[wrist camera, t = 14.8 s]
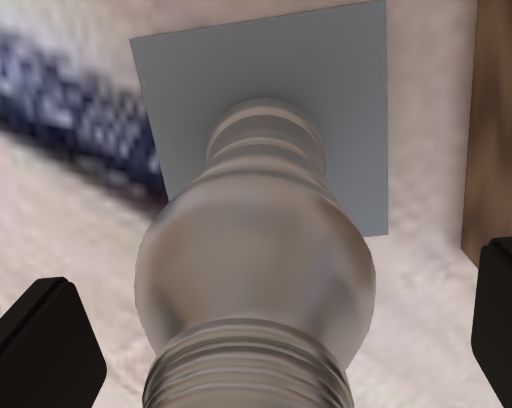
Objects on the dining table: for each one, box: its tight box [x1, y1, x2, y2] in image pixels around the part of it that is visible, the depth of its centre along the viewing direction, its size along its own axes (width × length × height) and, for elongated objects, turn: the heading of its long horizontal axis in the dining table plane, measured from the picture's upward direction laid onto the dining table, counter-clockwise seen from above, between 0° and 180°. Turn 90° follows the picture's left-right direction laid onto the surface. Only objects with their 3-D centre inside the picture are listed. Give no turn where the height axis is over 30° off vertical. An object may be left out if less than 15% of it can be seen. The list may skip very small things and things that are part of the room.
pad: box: [129, 0, 388, 237], centre depth 25 cm, size 14×14×1 cm
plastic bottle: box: [134, 98, 376, 408], centre depth 15 cm, size 6×7×20 cm
